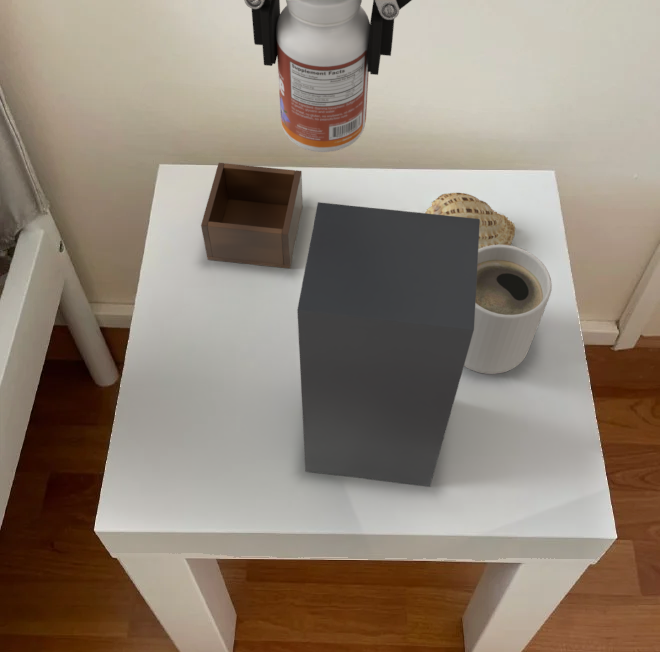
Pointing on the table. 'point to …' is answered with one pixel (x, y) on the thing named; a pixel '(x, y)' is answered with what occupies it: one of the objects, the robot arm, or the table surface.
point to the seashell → (476, 217)
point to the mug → (506, 307)
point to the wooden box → (253, 215)
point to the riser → (383, 338)
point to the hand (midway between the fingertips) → (323, 54)
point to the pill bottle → (323, 72)
